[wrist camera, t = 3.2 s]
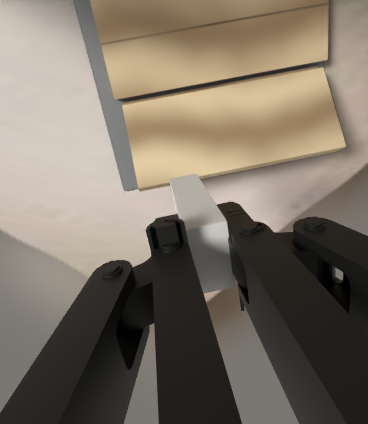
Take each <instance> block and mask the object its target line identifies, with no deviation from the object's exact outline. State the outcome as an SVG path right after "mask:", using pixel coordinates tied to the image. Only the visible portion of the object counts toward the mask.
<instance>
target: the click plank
mask: <svg viewBox="0 0 368 424" xmlns="http://www.w3.org/2000/svg"><path fill="white" fill-rule="evenodd" d="M122 104H123V105H122V108H123V113H124V118H125V123H126V128H127V133H128V138H129V143H130V148H131V153H132V158H133V164H134V169H135V174H136V179H137V184H138V189H139V190H140V191H145V190H150V189H155V188H160V187H165V186H169V185H170V180H169V179H172V178H176V177H181V176H186V175H191V174H197V175H198V177H199V178H200V179H204V178H209V177H214V176H219V175H224V174H228V173H233V172H238V171H243V170H248V169H253V168H258V167H263V166H268V165H273V164H278V163H282V162H287V161H292V160H297V159H302V158H307V157H312V156H317V155H322V154H327V153H332V152H336V151H340V150H341V149H343V148H345V147H346V144H345V141H344V137H343V134H342V130H341V127H340V123H339V120H338V116H337V113H336V110H335V106H334V103H333V99H332V96H331V92H330V89H329V86H328V82H327V79H326V75H325V72H324V68H323V67H322V68H318V67H317V66H315V67H310V68H305V69H299V70H294V71H289V72H283V73H278V74H273V75H268V76H262V77H257V78H252V79H246V80H241V81H236V82H231V83H225V84H220V85H215V86H209V87H204V88H199V89H193V90H188V91H183V92H178V93H172V94H167V95H162V96H156V97H151V98H146V99H141V100H135V101H130V102H125V103H122Z"/></svg>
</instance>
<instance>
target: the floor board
mask: <svg viewBox="0 0 368 424" xmlns="http://www.w3.org/2000/svg"><path fill="white" fill-rule="evenodd" d="M90 3H91V7H92V11H93V15H94V19H95V23H96V27H97V31H98V35H99V39H100V43H101V47H102V51H103V55H104V59H105V63H106V68H107V72H108V76H109V80H110V84H111V88H112V92H113V96H114V100H117V99H122V98H128V97H133V96H138V95H144V94H149V93H154V92H159V91H165V90H170V89H175V88H181V87H186V86H191V85H197V84H202V83H207V82H213V81H218V80H223V79H228V78H234V77H239V76H244V75H250V74H255V73H260V72H266V71H271V70H276V69H282V68H287V67H292V66H297V65H303V64H308V63H313V62H319V61H324V60H328V7H329V0H90Z"/></svg>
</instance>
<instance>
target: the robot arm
mask: <svg viewBox="0 0 368 424" xmlns="http://www.w3.org/2000/svg"><path fill="white" fill-rule="evenodd" d="M169 180H170V185H171V190H172V195H173V200H174V205H175V210H176V214H174V215H170V216H165V217H160V218H156V220H155V221H154V222H153V223H151V224H150V225H149V226H148V227H147V229H146V233H147V237H148V241H149V245H150V249H151V257H150V258H149V259H148V260H147V261H145V262H144V263H142V264H140V265H137V266H135V267H132V265H131V264H130V262H128V261H125V260H116V261H110V262H108V263H105V264H103V265H102V266H100V267H99V268H97V269H96V270H95V271H94V272H93V273H92V275H91V276H90V278H89V279H88V281H87V282H86V284H85V285H84V287H83V288H82V290H81V292H80V293H79V295H78V296H77V298H76V299H75V301H74V302H73V304H72V305H71V307H70V308H69V310H68V311H67V313H66V314H65V316H64V317H63V319H62V320H61V322H60V323H59V325H58V326H57V328H56V329H55V331H54V333H53V334H52V335H51V337H50V339H49V340H48V341H47V343H46V344H45V346H44V348H43V349H42V351H41V352H40V354H39V355H38V357H37V358H36V360H35V361H34V363H33V364H32V366H31V367H30V369H29V370H28V372H27V373H26V375H25V376H24V378H23V379H22V381H21V382H20V384H19V385H18V387H17V388H16V390H15V392H14V393H13V395H12V396H11V397H10V399H9V400H8V402H7V404H6V405H5V407H4V408H3V410H2V411H1V413H0V424H124V420H125V417H126V413H127V409H128V406H129V402H130V399H131V395H132V392H133V388H134V385H135V381H136V378H137V374H138V371H139V367H140V364H141V360H142V356H143V353H144V349H145V346H146V342H147V339H148V335H149V328H150V327H149V325H151V324H153V323H154V325H155V348H156V369H157V390H158V391H157V392H158V414H159V424H242V422H241V419H240V415H239V412H238V409H237V405H236V402H235V399H234V395H233V392H232V389H231V385H230V382H229V378H228V375H227V372H226V368H225V365H224V361H223V358H222V355H221V352H220V348H219V345H218V341H217V338H216V334H215V331H214V328H213V325H212V321H211V318H210V314H209V311H208V308H207V304H206V301H205V297H204V294H203V293H208V292H212V291H217V290H221V289H225V288H230V287H234V286H235V279H234V276H235V278H236V280H237V282H238V289H239V297H240V304H241V311H244V306H245V308H246V310H247V312H248V314H249V316H250V319H251V321H252V323H253V325H254V327H255V329H256V332H257V334H258V336H259V338H260V340H261V342H262V344H263V347H264V349H265V351H266V353H267V355H268V357H269V360H270V362H271V364H272V366H273V368H274V370H275V373H276V375H277V377H278V379H279V381H280V383H281V385H282V388H283V390H284V392H285V394H286V396H287V398H288V400H289V403H290V405H291V407H292V409H293V411H294V413H295V415H296V418H297V420H298V422H299V424H368V236H366V235H364V234H361V233H359V232H357V231H354V230H352V229H350V228H347V227H345V226H343V225H340V224H338V223H336V222H333V221H331V220H328V219H325V218H317V217H307V218H304V219H300V220H298V221H296V222H295V223H294V225H293V232H285V233H274V232H273V231H272V230H271V229H270V228H269V227H268V226H267V225H266V224H264V223H261V222H254V221H253V220H252V219H251V218H250V216H249V215H248V214H246V212H245V210H243V208H242V207H241V206H240V205H239V204H237V203H234V202H227V203H222V204H218V205H216V203H215V202H214V200H213V199H212V197H211V196H210V194H209V193H208V191H207V189H206V188H205V186H204V185H203V183H202V182H201V180H200V178H199V177H198V175H197V174H191V175H186V176H181V177H176V178H172V179H169ZM335 267H336V268H338V269H339V270H341V271H342V272H343V281H342V280H340V279H338V278H336V277H335Z"/></svg>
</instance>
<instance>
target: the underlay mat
mask: <svg viewBox="0 0 368 424" xmlns="http://www.w3.org/2000/svg"><path fill="white" fill-rule="evenodd" d="M73 1H74V4H75V8H76V12H77V16H78V19H79V23H80V27H81V31H82V34H83V38H84V42H85V46H86V49H87V53H88V57H89V61H90V65H91V68H92V72H93V76H94V80H95V83H96V87H97V91H98V95H99V98H100V102H101V106H102V110H103V114H104V117H105V121H106V125H107V129H108V132H109V136H110V140H111V144H112V147H113V151H114V155H115V159H116V162H117V166H118V170H119V174H120V178H121V181H122V185H123V189H124V191H127V190H132V189H137V188H138V184H137V179H136V174H135V169H134V164H133V158H132V153H131V148H130V143H129V138H128V133H127V128H126V123H125V118H124V113H123V108H122V105H123V104H122V103H125V102H130V101H135V100H141V99H146V98H151V97H156V96H162V95H167V94H172V93H178V92H183V91H188V90H193V89H199V88H204V87H209V86H215V85H220V84H225V83H231V82H236V81H241V80H246V79H252V78H257V77H262V76H268V75H273V74H278V73H283V72H289V71H294V70H299V69H305V68H310V67H315V66H317V67H318V68H322V67H323V61H319V62H313V63H308V64H303V65H297V66H292V67H287V68H282V69H276V70H271V71H266V72H260V73H255V74H250V75H244V76H239V77H234V78H228V79H223V80H218V81H213V82H207V83H202V84H197V85H191V86H186V87H181V88H175V89H170V90H165V91H159V92H154V93H149V94H144V95H138V96H133V97H128V98H122V99H117V100H114V96H113V92H112V88H111V84H110V80H109V76H108V72H107V68H106V63H105V59H104V55H103V51H102V47H101V43H100V39H99V35H98V31H97V27H96V23H95V19H94V15H93V11H92V7H91V3H90V0H73Z"/></svg>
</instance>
